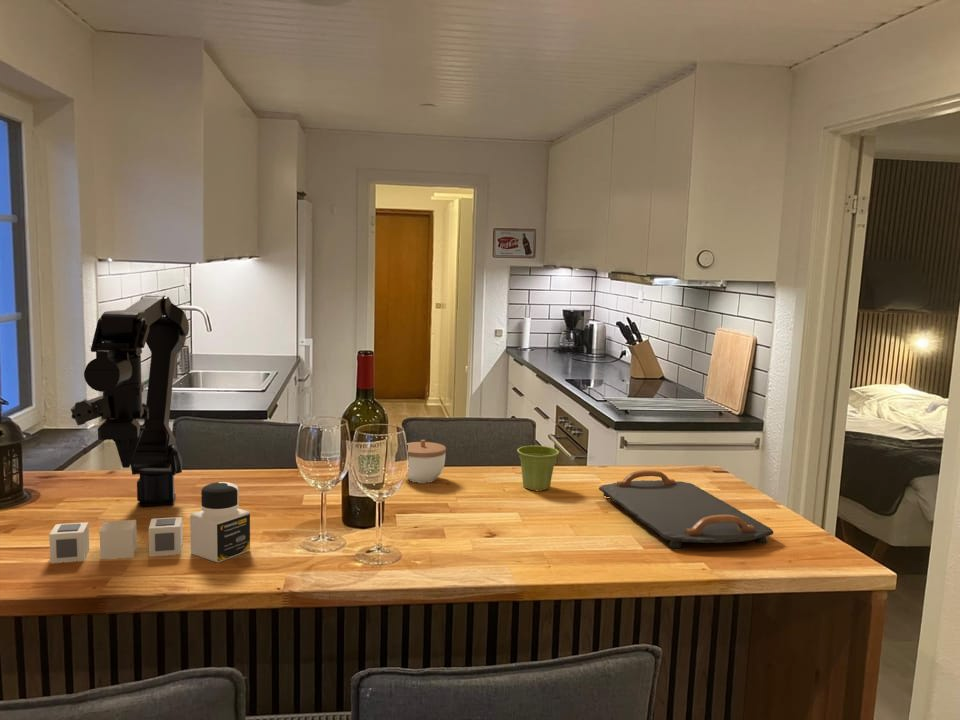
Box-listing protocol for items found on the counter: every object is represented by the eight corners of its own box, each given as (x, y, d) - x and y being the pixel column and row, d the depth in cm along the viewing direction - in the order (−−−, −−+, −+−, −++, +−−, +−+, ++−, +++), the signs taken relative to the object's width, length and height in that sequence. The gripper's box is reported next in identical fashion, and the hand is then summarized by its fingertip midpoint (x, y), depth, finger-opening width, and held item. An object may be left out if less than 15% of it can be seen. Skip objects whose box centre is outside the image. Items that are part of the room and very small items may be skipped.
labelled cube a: (182, 544, 141) (182, 515, 140) (180, 555, 136) (180, 525, 135) (152, 546, 140) (151, 517, 139) (149, 557, 135) (148, 527, 134)
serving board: (784, 551, 149) (787, 519, 148) (672, 558, 143) (674, 525, 142) (682, 490, 186) (684, 464, 185) (590, 494, 180) (591, 467, 180)
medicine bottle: (217, 563, 133) (217, 493, 131) (189, 554, 137) (188, 486, 135) (251, 551, 139) (250, 484, 137) (223, 542, 143) (222, 476, 141)
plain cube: (136, 547, 139) (136, 519, 138) (133, 558, 134) (132, 529, 134) (105, 549, 138) (104, 521, 137) (100, 560, 133) (99, 531, 132)
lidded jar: (403, 472, 192) (404, 433, 190) (448, 474, 191) (449, 436, 189) (394, 484, 181) (395, 444, 180) (441, 487, 180) (442, 447, 179)
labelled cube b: (89, 550, 137) (88, 521, 136) (83, 561, 132) (82, 531, 131) (56, 552, 135) (55, 523, 135) (50, 564, 130) (49, 533, 130)
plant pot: (558, 494, 178) (560, 456, 177) (516, 492, 178) (518, 454, 177) (555, 482, 187) (557, 446, 186) (515, 481, 187) (516, 444, 186)
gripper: (84, 374, 149) (86, 456, 151) (62, 391, 131) (66, 484, 133) (148, 373, 152) (150, 453, 154) (136, 390, 135) (138, 480, 137)
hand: (126, 467), depth 145 cm, fingers closed
